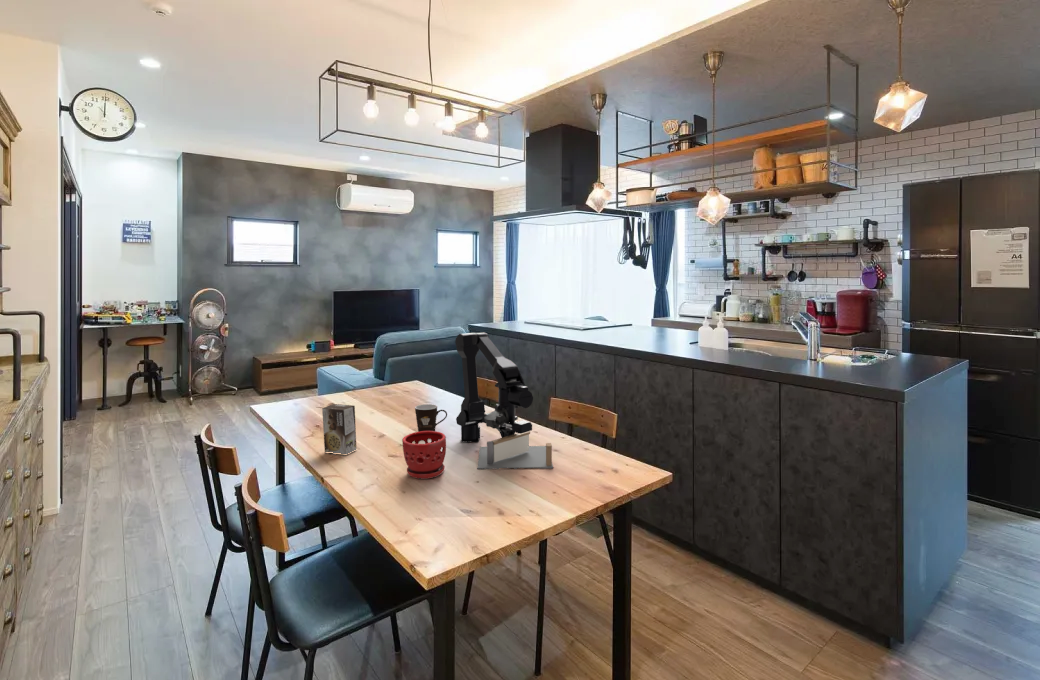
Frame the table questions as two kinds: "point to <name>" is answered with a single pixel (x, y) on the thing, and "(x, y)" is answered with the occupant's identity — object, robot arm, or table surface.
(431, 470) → the plant pot
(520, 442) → the gate
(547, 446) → the gate frame
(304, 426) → the table surface
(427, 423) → the coffee mug
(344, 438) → the coffee box
